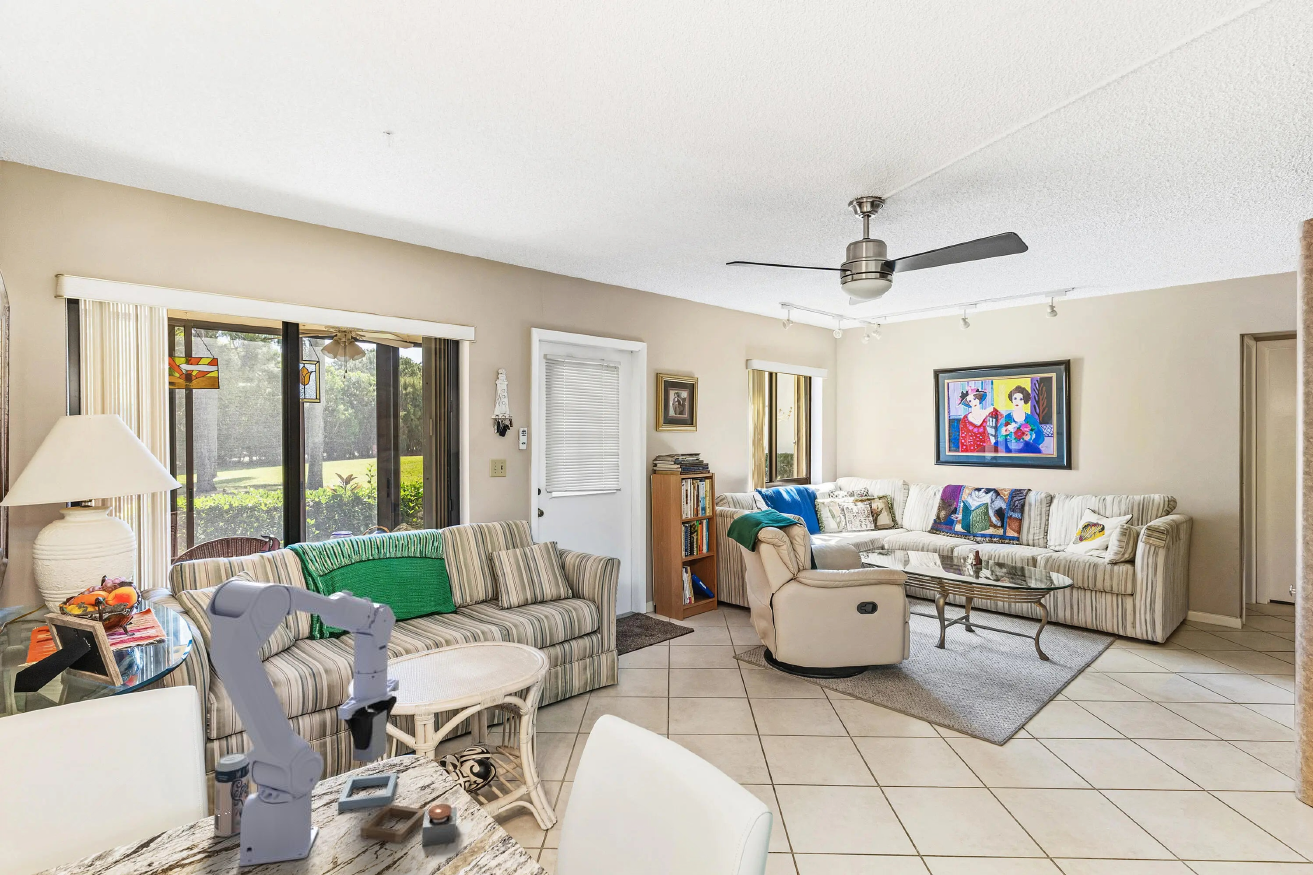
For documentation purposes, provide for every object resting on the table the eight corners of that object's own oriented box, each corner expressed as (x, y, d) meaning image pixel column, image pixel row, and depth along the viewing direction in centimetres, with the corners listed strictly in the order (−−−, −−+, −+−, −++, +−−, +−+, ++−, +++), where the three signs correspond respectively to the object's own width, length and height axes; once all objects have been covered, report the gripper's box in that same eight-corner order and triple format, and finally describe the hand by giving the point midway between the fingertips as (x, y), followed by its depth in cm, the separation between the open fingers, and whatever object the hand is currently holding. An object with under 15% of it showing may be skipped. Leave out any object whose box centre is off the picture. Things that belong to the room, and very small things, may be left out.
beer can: (242, 837, 108) (243, 763, 108) (208, 841, 107) (210, 766, 107) (252, 821, 113) (253, 750, 113) (221, 824, 112) (222, 752, 112)
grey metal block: (372, 762, 119) (372, 718, 120) (352, 760, 120) (353, 715, 120) (386, 752, 123) (386, 709, 123) (367, 750, 124) (367, 707, 124)
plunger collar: (422, 846, 106) (422, 827, 107) (425, 828, 111) (425, 810, 111) (454, 842, 108) (455, 823, 108) (456, 824, 113) (456, 807, 113)
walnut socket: (400, 843, 107) (401, 834, 107) (360, 836, 109) (360, 827, 109) (426, 818, 114) (426, 809, 114) (388, 812, 116) (388, 803, 116)
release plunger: (427, 838, 107) (427, 817, 107) (429, 826, 111) (429, 805, 111) (450, 836, 108) (450, 814, 108) (451, 823, 112) (452, 802, 112)
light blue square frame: (338, 810, 117) (338, 801, 117) (348, 785, 125) (348, 777, 125) (390, 804, 119) (390, 795, 119) (397, 780, 127) (397, 772, 127)
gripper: (363, 684, 114) (362, 764, 114) (413, 658, 128) (412, 729, 128) (328, 680, 116) (327, 759, 115) (380, 655, 130) (379, 725, 130)
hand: (369, 743), depth 122 cm, fingers closed on grey metal block, 4 cm apart
